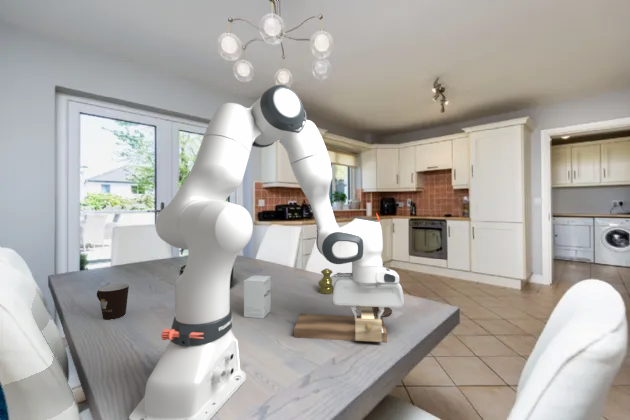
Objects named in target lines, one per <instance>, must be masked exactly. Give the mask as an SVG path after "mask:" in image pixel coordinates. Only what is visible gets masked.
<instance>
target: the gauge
mask: <svg viewBox="0 0 630 420" xmlns="http://www.w3.org/2000/svg"><path fill="white" fill-rule="evenodd" d="M359 307H360V309H359V311H360V312H359V313H360V318H355V340H356V342H372V341H374V342H377V343H383V342H382V321H381V319H375V318H374V314H373V309H372V307H366V306H359ZM374 342H373V343H374Z"/></svg>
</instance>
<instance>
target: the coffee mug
mask: <svg viewBox="0 0 630 420" xmlns="http://www.w3.org/2000/svg"><path fill="white" fill-rule="evenodd" d="M129 288H130V284H128V283H116V284H115V283H114V284H110V285H109V284H108V285H104V286H102V287H100V288H98V289H97V292H96V297H97V299H98V301H99V304H100V311H101V315H102V319H103V320H104V321H112V320H111V319H113V320H117V318H118V319H121V318H123V317H124V315H125V314H127V306H128V296H129V290H130V289H129ZM125 316H126V315H125ZM120 317H121V318H120Z"/></svg>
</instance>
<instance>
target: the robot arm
mask: <svg viewBox="0 0 630 420" xmlns="http://www.w3.org/2000/svg"><path fill="white" fill-rule="evenodd" d="M277 141H278V142H279V143H280V144H281V145H282V147H283V148H284V149H285V151H286V153H287V158H288V161H289V164H290V167H291V170H292V173H293V174H294V177H295V179H296V182H297V183H298V186H299V187H300V189H301V191H302V193H304V196H305V197H306V199H307V201H308V203H309V205H310V208H311V211H312V215H313V218H314V222H315V225H316V229H317V230H316V231H317V232H316V233H317V234H316V239H315V240H316V241H315V242H316V248H317V250H318V252H319V253H320V254H321V255H322V257H324V258H325V260H327V262H330V263H331V264H334V265H344V264H349V263H351V272H336V273H335V274H333V275H332V276H331V278H332V286H333V287H334V290H333V293H332V303H333V304H334V306H345V307H347V306H349V307H350V310H351V312H352V314H353V316H355V318H360V312H357V311H356V310H357V307H379V312H378V313H377V314H375V319H380V316H381V315H382V314H383V312H384V307H389V308H391V309H393V308H395V309H396V308H397V309H398V308H399V309H401V308H402V307H403V306H404V305H405V299H404V298H405V297H404V290H403V287H402V285H401V284H400V275H399V274H398V272H397V271H396V270H395V269H390V268H389V267H384V265H383V264H384V262H383V258H382V254H383V250H384V241H383V240H384V239H383V231H382V225H381V223H380V221H378V220H377V219H376V220H375V219H372V218H364V217H355V218H354V219H352V220H351V221H350V222H349V223H346V224H345V225H343V226H339V224H338V223H337V221H336V217H335V214H334V211H333V207H332V204H331V199H330V188H331V184H332V181H333V169H332V164H331V159H330V155H329V152H328V149H327V146H326V144H325V142H324V139H323V136H322V134H321V133H320V130H319V129H318V127H317V125H316V124H315V122H313V121H312V120H309V119H307V112H306V110H305V107H304V105H303V102H302V100H301V99H300V97H299V95H298V94H297V93H296V91H294V89H293V88H291V87H289V86H287V85H284V84H278V85H274V86H272V87H270V88H268V89H266V90H265V91H264V92H263V93H262V94H261V96H260V97H259V98H258V99H256V101H255V102H253V104H252V105H251V106H250V107H245V106H243V105H242V104H240V103H237V102H226V103H223V104H221V105H220V106H219V107H218V108H217V109H216V111H215V112H214V114H213V116H212V117H211V119H210V121H209V123H208V125H207V128H206V129H205V132H204V135H203V137H202V140H201V143H200V146H199V149H198V152H197V154H196V157H195V160H194V163H193V164H192V167H191V170H190V172H189V173H188V175H187V176H186V178H185V179H184V182H183V183H182V185H181V186H180V188H179V189H178V191H177V192H176V193H175V195H174V197H173V198H172V200H171V201H170V202H169V203H168V204H167V205H166V206H165V207H163V208H162V209H161V210H160V211H159V212H158V215H157V216H156V219H155V224H154V225H155V231H156V234H157V236H158V237H159V238H160V240H162V241H164V242H165V243H167V244H168V245H170V246H172V247H174V248H177V249H182V250H187V253H188V255H187V260H186V263H185V267H184V270H183V272H182V273H181V274H180V275H179V276H178V277H177V278H176V280H175V284H174V296H175V297H174V298H175V299H174V300H175V301H174V303H175V304H174V305H175V316H174V318H173V320H172V324H171V328H170V329H169V328H164V329H163V330H162V332H161V333H160V334H161V335H160V336H161V340H162V341H167V340H169V342H168V344H167V346H166V348H165V349H164V351H162V354H161V356H160V358H159V359H158V362H157V363H156V364H155V367H154V369H153V370H152V372H151V373H150V374H149V377H148V379H147V381H146V383H145V391H144V392H145V393H144V396H143V397H142V398H141V400H140V402H138V404H137V406H136V407H135V408H134V409H133V410H132V412H131V413H130V415H129V416H128V420H211V419H212V418H213V417H214V415H216V414H217V412H218V411H220V409H221V408H222V407H223V406H224V404H226V402H227V401H228V400H229V399H230V398H231V397H232V396H233V395H234V394H235V392H236V391H237V390H238V389H239V388H240V387H241V386H242V385H243V384H244V383H245V381H246V380H247V375H246V372H245V371H243V370H242V369H241V362H240V361H241V360H240V351H239V342H238V341H239V340H238V339H237V338H236V337H235V335H234V333H233V331H232V328H233V313H232V312H233V311H232V309H231V308H230V305H231V304H230V302H231V300H230V299H231V297H230V295H231V293H230V291H231V288H230V287H231V277H232V276H231V275H232V272H233V271H232V270H233V267H234V264H235V261H236V259H237V256H238V255H239V253H240V252H241V251H242V250H243V249H244V248H245V247H246V246H247V245H248V244H249V242H250V241H251V239H252V236H253V232H254V231H253V230H254V227H253V226H254V224H253V223H254V222H253V219H252V216H251V214H250V212H249V211H248V210H247V209H246V208H245V207H243V206H242V205H239V204H236V203H233V202H229V201H227V199H228V198H229V197H230V195H232V193H233V192H235V191H237V189H238V188H239V187H240V186H241V184H242V183H243V181H244V176H245V173H246V170H247V166H248V162H249V159H250V155H251V151H252V149H253V148H252V147H254V148H260V149H262V148H267V147H270V146H272V145H274V143H275V142H277ZM379 223H380V224H379Z"/></svg>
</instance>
